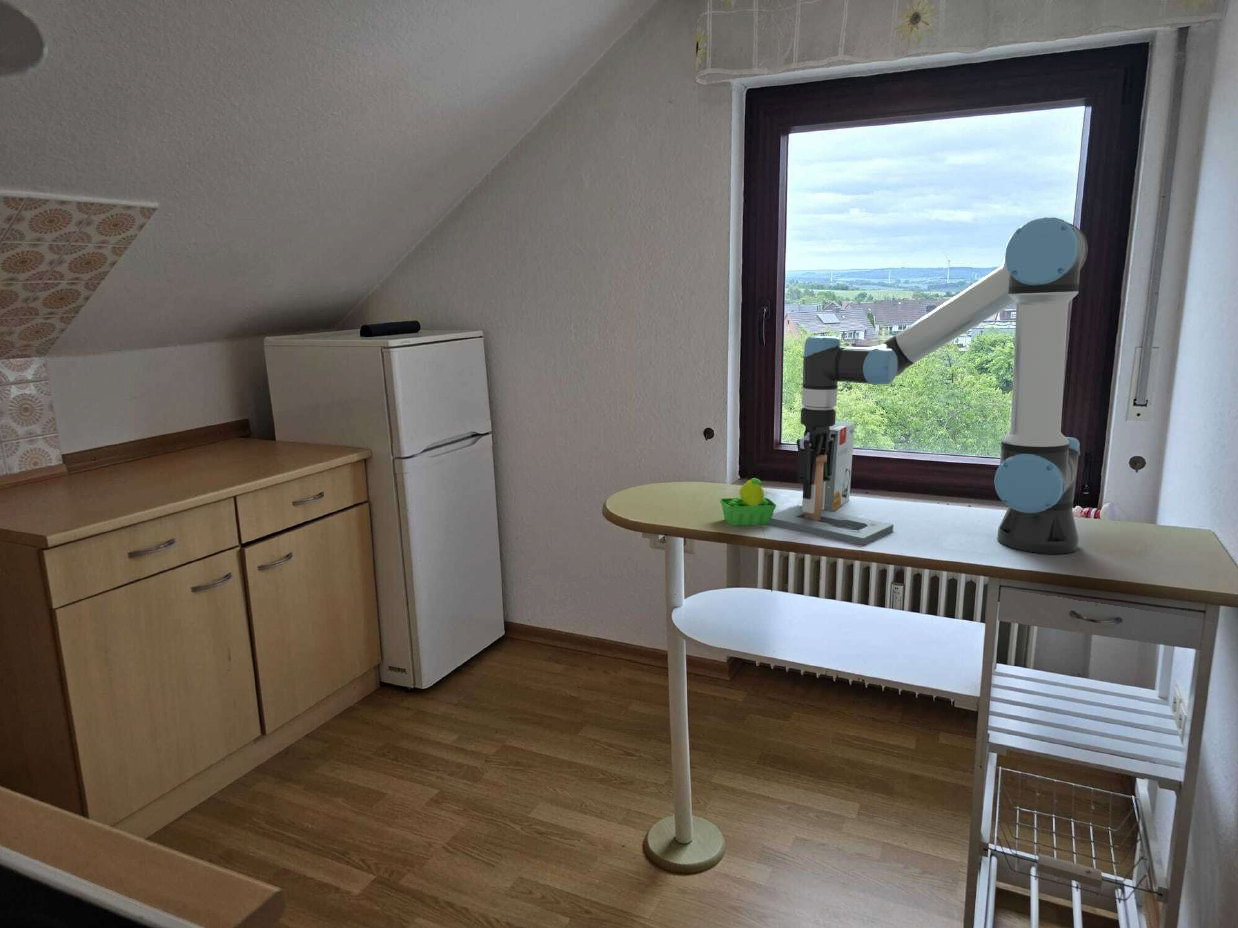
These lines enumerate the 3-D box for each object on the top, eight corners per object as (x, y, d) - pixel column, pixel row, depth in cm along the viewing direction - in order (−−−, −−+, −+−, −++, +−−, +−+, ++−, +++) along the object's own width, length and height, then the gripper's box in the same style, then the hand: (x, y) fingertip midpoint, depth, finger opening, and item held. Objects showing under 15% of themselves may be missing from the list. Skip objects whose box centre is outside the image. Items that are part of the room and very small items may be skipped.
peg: (827, 518, 190) (830, 455, 187) (816, 523, 186) (819, 458, 183) (808, 514, 193) (811, 452, 190) (797, 518, 189) (800, 455, 186)
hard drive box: (832, 513, 198) (837, 430, 194) (801, 509, 202) (805, 427, 198) (850, 499, 211) (855, 421, 207) (820, 495, 215) (824, 418, 211)
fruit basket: (765, 517, 196) (767, 470, 194) (778, 528, 188) (780, 479, 185) (718, 519, 194) (719, 472, 192) (729, 530, 186) (731, 481, 184)
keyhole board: (893, 530, 184) (893, 524, 184) (862, 545, 174) (863, 538, 174) (797, 511, 200) (797, 505, 200) (764, 523, 190) (765, 516, 190)
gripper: (822, 401, 193) (817, 500, 198) (783, 409, 181) (778, 514, 186) (852, 405, 188) (846, 506, 193) (814, 413, 176) (808, 520, 181)
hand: (813, 510), depth 189 cm, fingers closed on peg, 4 cm apart
